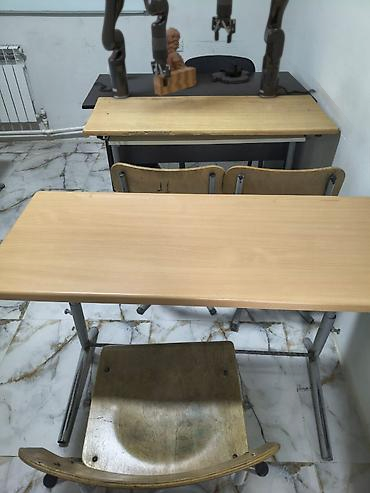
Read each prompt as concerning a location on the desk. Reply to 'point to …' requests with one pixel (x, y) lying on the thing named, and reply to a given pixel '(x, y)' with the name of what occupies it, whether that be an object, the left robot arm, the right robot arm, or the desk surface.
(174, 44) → the sculpture
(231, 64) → the abstract sculpture
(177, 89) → the bar
